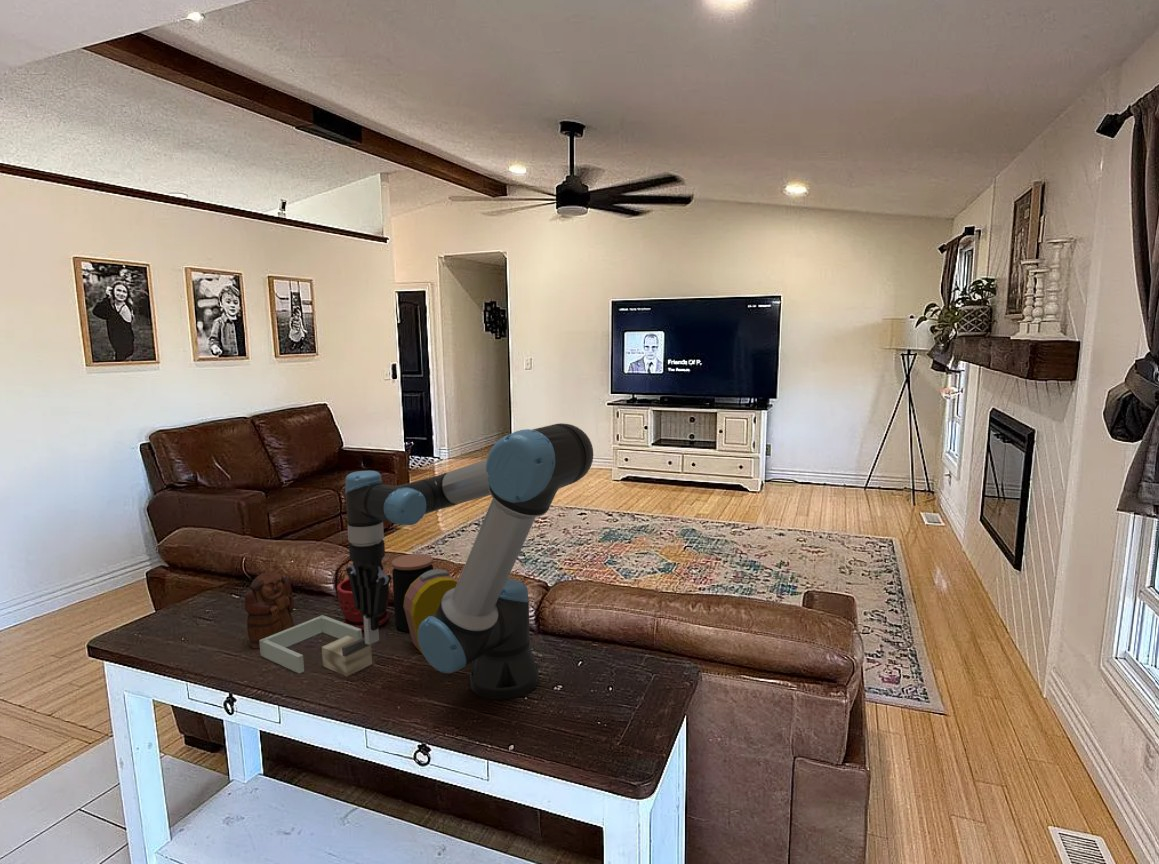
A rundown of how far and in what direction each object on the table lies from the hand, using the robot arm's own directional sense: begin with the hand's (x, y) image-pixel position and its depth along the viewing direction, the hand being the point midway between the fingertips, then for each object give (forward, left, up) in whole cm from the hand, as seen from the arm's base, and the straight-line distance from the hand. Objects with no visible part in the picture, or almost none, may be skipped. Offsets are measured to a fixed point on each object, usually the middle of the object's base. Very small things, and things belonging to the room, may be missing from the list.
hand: (372, 641), depth 149 cm
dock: (+23, 0, -8) cm, 24 cm away
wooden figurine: (+37, +2, -8) cm, 38 cm away
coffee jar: (+13, -24, -8) cm, 29 cm away
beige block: (+10, 0, -8) cm, 13 cm away
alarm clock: (0, -20, -9) cm, 22 cm away
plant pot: (+25, -17, -9) cm, 31 cm away
